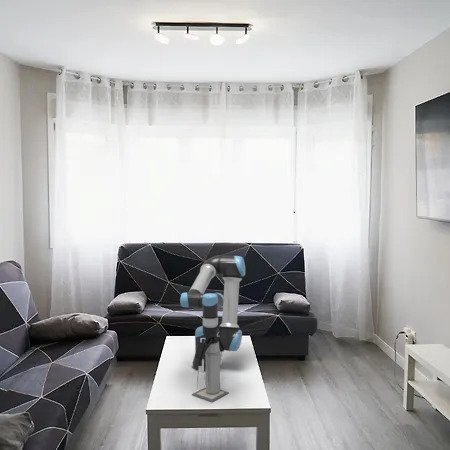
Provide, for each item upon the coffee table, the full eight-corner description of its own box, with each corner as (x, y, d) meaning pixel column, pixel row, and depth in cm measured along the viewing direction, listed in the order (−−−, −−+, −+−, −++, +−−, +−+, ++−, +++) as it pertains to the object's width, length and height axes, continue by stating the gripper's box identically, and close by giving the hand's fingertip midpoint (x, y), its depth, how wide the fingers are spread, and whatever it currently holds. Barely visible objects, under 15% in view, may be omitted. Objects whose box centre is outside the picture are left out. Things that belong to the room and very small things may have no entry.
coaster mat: (209, 386, 233) (209, 385, 233) (228, 393, 225) (228, 392, 225) (191, 395, 223) (191, 393, 223) (212, 402, 214) (212, 401, 214)
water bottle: (211, 387, 230) (211, 339, 229) (223, 391, 225) (223, 342, 224) (199, 393, 223) (199, 343, 222) (211, 397, 218) (211, 346, 217)
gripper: (220, 319, 234) (220, 359, 235) (187, 329, 214) (187, 373, 216) (231, 321, 229) (231, 362, 230) (198, 332, 210) (199, 377, 211)
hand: (210, 368), depth 223 cm, fingers open, 13 cm apart
